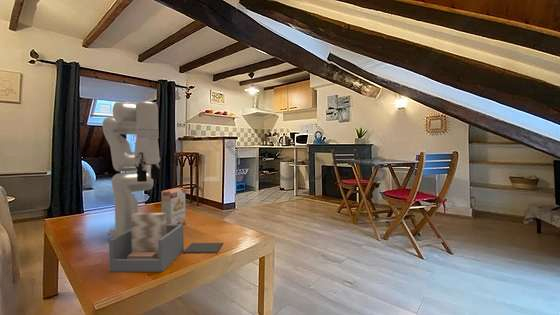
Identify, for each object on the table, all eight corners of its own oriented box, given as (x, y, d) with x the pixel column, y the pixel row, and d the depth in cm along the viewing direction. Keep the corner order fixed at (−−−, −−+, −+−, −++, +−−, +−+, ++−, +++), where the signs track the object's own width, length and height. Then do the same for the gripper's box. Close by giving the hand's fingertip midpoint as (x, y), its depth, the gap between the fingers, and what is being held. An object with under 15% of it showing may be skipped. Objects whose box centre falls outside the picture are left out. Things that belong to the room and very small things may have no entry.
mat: (183, 253, 107) (183, 251, 107) (191, 244, 117) (191, 242, 117) (217, 253, 106) (217, 251, 106) (223, 244, 116) (223, 242, 116)
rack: (109, 271, 91) (109, 240, 91) (140, 250, 110) (139, 224, 109) (162, 271, 90) (161, 240, 90) (183, 250, 109) (183, 224, 109)
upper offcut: (127, 262, 94) (127, 255, 93) (133, 258, 97) (133, 251, 97) (151, 263, 93) (151, 256, 93) (157, 259, 97) (156, 252, 96)
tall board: (132, 262, 98) (130, 214, 98) (136, 258, 101) (135, 212, 101) (163, 262, 98) (162, 214, 98) (167, 258, 101) (166, 212, 101)
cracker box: (171, 231, 136) (170, 191, 135) (161, 230, 137) (160, 191, 136) (186, 224, 149) (185, 187, 149) (177, 223, 150) (176, 187, 150)
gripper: (149, 136, 108) (150, 178, 108) (123, 133, 90) (125, 183, 91) (167, 136, 108) (168, 177, 108) (145, 133, 90) (146, 182, 91)
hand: (148, 180), depth 99 cm, fingers open, 9 cm apart
